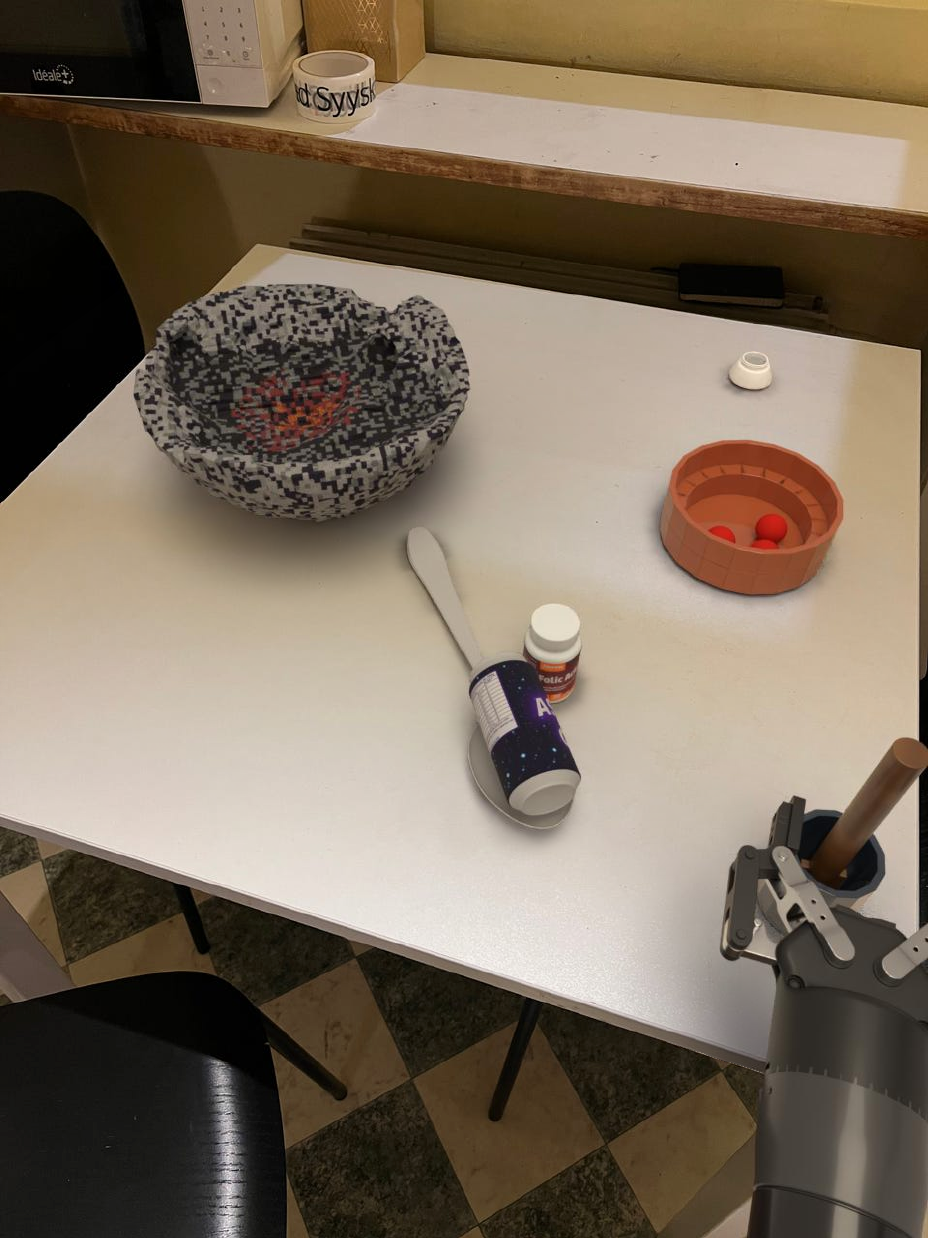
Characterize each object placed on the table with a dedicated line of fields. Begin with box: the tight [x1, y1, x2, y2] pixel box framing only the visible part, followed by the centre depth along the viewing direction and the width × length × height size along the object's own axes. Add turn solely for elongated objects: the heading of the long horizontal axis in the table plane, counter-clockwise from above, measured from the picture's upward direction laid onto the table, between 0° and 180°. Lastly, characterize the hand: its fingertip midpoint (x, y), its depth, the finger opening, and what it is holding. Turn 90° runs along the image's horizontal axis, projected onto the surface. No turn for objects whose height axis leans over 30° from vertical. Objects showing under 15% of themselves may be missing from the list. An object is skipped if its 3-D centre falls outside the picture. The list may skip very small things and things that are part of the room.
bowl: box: [133, 283, 471, 523], centre depth 87 cm, size 31×31×15 cm
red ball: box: [755, 514, 787, 544], centre depth 85 cm, size 3×3×3 cm
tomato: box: [708, 526, 735, 543], centre depth 84 cm, size 3×3×3 cm
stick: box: [800, 736, 928, 890], centre depth 55 cm, size 3×2×20 cm, turn 74°
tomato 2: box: [750, 540, 779, 550], centre depth 83 cm, size 3×3×3 cm
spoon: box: [406, 526, 576, 830], centre depth 76 cm, size 35×8×3 cm, turn 19°
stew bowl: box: [658, 439, 844, 596], centre depth 85 cm, size 16×16×6 cm
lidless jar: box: [728, 351, 774, 390], centre depth 103 cm, size 5×3×5 cm
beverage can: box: [468, 651, 582, 815], centre depth 66 cm, size 6×6×12 cm
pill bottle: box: [522, 602, 583, 704], centre depth 72 cm, size 5×5×8 cm
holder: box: [756, 808, 886, 936], centre depth 60 cm, size 6×6×8 cm
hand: (868, 825), depth 51 cm, fingers open, 8 cm apart
